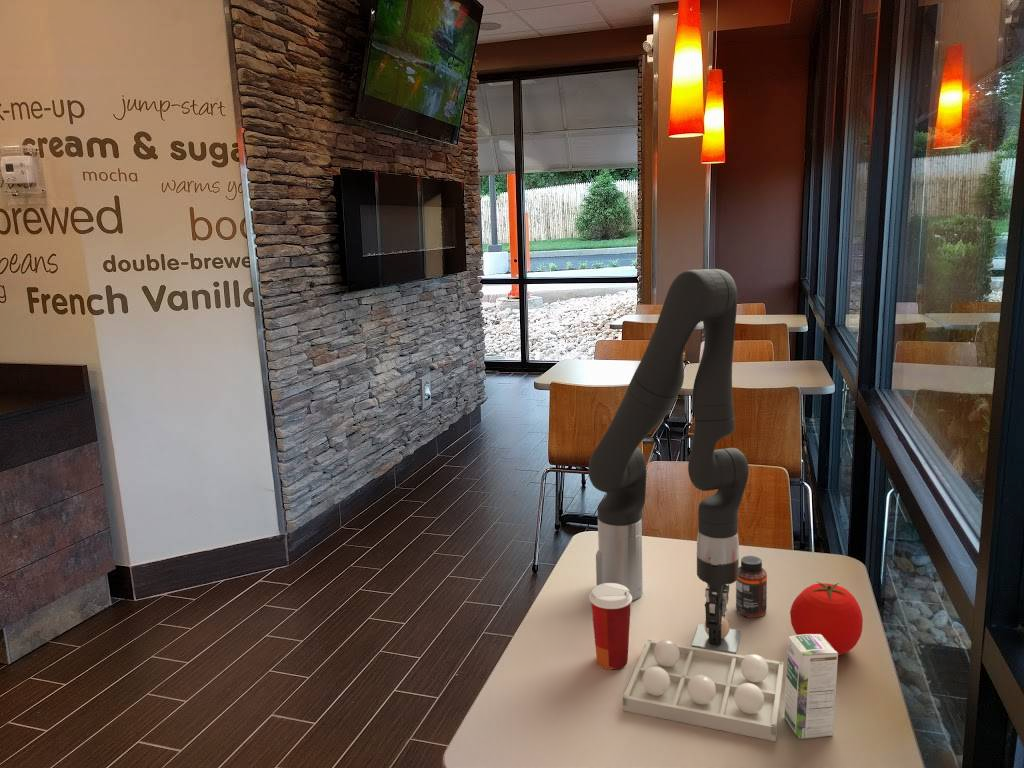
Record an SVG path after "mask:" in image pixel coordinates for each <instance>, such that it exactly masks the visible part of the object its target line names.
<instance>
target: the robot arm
mask: <svg viewBox="0 0 1024 768" xmlns="http://www.w3.org/2000/svg"><path fill="white" fill-rule="evenodd" d="M737 310H738V291H737V285H736V283H735V280H734V278H733V277H732V275H731V274H730V273H729V272H727V271H725V270H724V269H719V268H711V269H710V268H707V269H688V270H685V271H682V272H680V273H678V275H677V276H675V278H674V280H673V281H672V282H671V284H670V286H669V288H668V291H667V294H666V297H665V298H664V302H663V305H662V308H661V311H660V314H659V316H658V320H657V323H656V326H655V328H654V330H653V334H652V336H651V337H650V340H649V342H648V344H647V346H646V349H645V351H644V353H643V356H642V358H641V360H640V362H639V364H638V366H637V368H636V369H635V371H634V373H633V376H632V378H631V379H630V382H629V384H628V386H627V389H626V392H625V393H624V396H623V398H622V400H621V402H620V404H619V405H618V408H617V410H616V412H615V415H614V417H613V419H612V421H611V423H610V425H609V426H608V429H607V430H606V432H605V434H603V436H602V438H601V439H600V441H599V443H598V445H597V446H596V447H595V449H594V450H593V453H592V454H591V456H590V459H589V462H588V467H587V468H588V469H587V470H588V477H589V480H590V483H591V485H592V486H593V487H594V488H595V489H596V490H597V491H600V492H603V493H607V494H606V495H605V496H604V497H603V498H602V500H601V501H599V503H598V505H597V535H598V536H597V537H598V538H597V541H598V542H597V543H598V545H597V546H598V549H597V552H596V553H595V573H596V574H595V575H596V577H595V578H596V586H598V585H600V584H604V583H617V584H621V585H623V586H625V587H627V588H628V589H629V591H630V594H631V596H632V602H633V601H635V600H637V599H639V598H641V597H642V595H643V593H644V592H643V586H644V585H643V583H644V582H643V536H642V534H643V533H642V528H643V526H642V521H643V520H642V516H643V515H642V514H643V509H644V507H645V504H646V496H647V493H646V491H647V463H646V458H645V455H644V453H643V451H642V450H641V448H640V447H639V445H640V444H641V443H642V441H643V440H644V439H646V438H647V437H648V436H649V435H650V434H651V432H652V431H654V430H655V429H656V427H657V426H659V425H660V424H661V422H662V421H663V420H664V419H665V417H667V415H668V414H669V412H670V411H671V409H672V407H673V405H674V404H675V402H676V400H677V398H678V396H679V394H680V392H681V390H682V388H683V384H684V379H685V366H684V352H685V347H686V345H687V343H688V341H689V339H690V337H691V335H692V334H693V332H694V330H695V328H696V327H697V325H698V324H699V323H700V322H702V323H703V332H704V343H703V344H704V346H703V350H702V355H701V359H700V363H699V365H698V368H697V371H696V375H695V378H694V383H693V388H692V406H693V417H694V418H693V419H694V431H693V436H692V437H693V438H692V444H691V449H690V452H689V453H690V454H689V458H688V464H687V466H688V467H687V471H688V472H687V473H688V477H689V479H690V482H691V483H692V485H693V486H694V487H695V488H696V489H697V490H699V491H701V492H702V491H703V492H707V491H708V492H709V491H714V490H715V491H716V490H717V491H716V492H715V493H714V494H712V495H711V496H709V497H706V498H704V499H702V500H701V501H700V502H699V505H698V510H697V511H698V515H697V518H698V519H697V520H698V522H697V524H698V527H697V528H698V529H697V530H698V533H697V536H696V537H697V539H696V575H697V576H696V577H697V578H698V579H699V580H700V581H702V582H704V583H706V585H707V586H706V587H705V590H704V591H705V592H704V597H705V603H704V608H705V609H704V610H705V612H704V613H705V621H706V628H709V643H710V644H712V645H721V627H722V616H724V617H725V618H726V612H727V611H728V608H727V605H728V604H729V593H730V585H732V584H733V583H736V580H737V579H738V568H739V567H740V566H739V564H740V563H739V559H740V558H739V557H740V554H739V553H740V552H739V551H740V550H739V549H740V544H739V543H740V542H739V534H738V533H739V532H738V529H739V528H738V525H739V523H738V522H739V521H738V519H739V514H738V513H739V509H740V507H741V503H742V500H743V496H744V493H745V490H746V487H747V484H748V480H749V473H750V471H749V462H748V460H747V457H746V455H745V453H743V452H742V451H741V450H740V449H738V448H736V447H727V448H720V449H719V448H718V449H715V448H716V445H717V443H718V442H719V441H720V440H721V439H723V438H724V439H725V438H726V437H729V436H731V435H732V434H734V432H735V429H736V422H735V408H734V395H733V358H734V348H735V347H734V345H735V335H736V321H737V312H738V311H737Z"/></svg>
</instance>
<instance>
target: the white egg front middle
mask: <svg viewBox="0 0 1024 768" xmlns="http://www.w3.org/2000/svg"><path fill="white" fill-rule="evenodd" d="M687 691H688V694H689V696H690V698H691V699H692V700H693V701H694V702H695V703H697V704H701V705H705V704H708V703H710V702H711V701H712V700H713V699H714V698H715V695H716V687H715V684H714V682H713V681H712V680H711V679H710V678H709V677H708V676H705V675H696V676H694V677H692V678H691V679H690V681H689V682H688V686H687Z"/></svg>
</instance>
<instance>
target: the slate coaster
mask: <svg viewBox="0 0 1024 768" xmlns="http://www.w3.org/2000/svg"><path fill="white" fill-rule="evenodd" d="M741 630H742V629H741ZM741 630H740V629H734V628H729V632H728V634H727V636H726V637H724V638H723V639H721V645H712V644H710V643H709V635H708V634H707V633H706V631H705V627H704V624H701V623H698V626H697V629H696V631H695V635H694V638H693V641H692V644H691V647H695V648H701V649H707V650H713V651H719V652H725V653H731V654H737V653H738V648H739V643H740V638H741V633H742V631H741Z"/></svg>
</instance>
